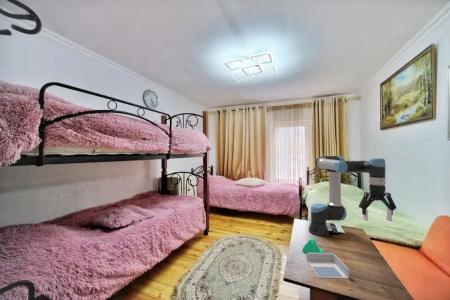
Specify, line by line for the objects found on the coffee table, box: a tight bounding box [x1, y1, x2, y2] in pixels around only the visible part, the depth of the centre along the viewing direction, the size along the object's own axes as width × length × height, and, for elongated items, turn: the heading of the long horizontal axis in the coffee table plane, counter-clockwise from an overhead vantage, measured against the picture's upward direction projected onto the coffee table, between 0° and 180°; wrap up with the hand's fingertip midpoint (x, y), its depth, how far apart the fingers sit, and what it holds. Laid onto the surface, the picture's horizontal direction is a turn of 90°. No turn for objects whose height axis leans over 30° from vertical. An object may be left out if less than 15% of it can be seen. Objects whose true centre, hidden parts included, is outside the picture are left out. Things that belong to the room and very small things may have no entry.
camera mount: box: [301, 237, 324, 254], centre depth 134 cm, size 12×8×10 cm, turn 54°
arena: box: [306, 252, 351, 280], centre depth 115 cm, size 17×17×5 cm
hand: (377, 220), depth 114 cm, fingers open, 13 cm apart
